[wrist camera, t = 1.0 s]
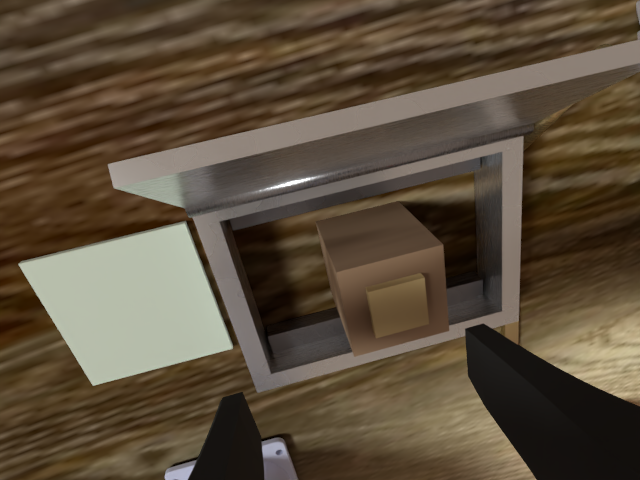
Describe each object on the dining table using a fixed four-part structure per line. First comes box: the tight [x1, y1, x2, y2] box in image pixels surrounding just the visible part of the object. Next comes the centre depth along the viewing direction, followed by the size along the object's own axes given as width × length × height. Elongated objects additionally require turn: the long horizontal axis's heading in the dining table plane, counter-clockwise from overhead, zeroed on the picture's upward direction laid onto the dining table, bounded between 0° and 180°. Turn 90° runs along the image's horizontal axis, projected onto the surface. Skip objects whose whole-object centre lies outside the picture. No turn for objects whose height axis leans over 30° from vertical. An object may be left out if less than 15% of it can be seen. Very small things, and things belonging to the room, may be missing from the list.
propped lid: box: [108, 40, 640, 218], centre depth 15 cm, size 5×16×8 cm, turn 101°
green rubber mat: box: [18, 221, 233, 386], centre depth 21 cm, size 8×8×1 cm
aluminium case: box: [193, 136, 524, 392], centre depth 21 cm, size 11×15×3 cm
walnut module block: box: [316, 201, 449, 357], centre depth 19 cm, size 4×4×6 cm
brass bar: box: [501, 321, 519, 344], centre depth 27 cm, size 8×1×1 cm, turn 12°
